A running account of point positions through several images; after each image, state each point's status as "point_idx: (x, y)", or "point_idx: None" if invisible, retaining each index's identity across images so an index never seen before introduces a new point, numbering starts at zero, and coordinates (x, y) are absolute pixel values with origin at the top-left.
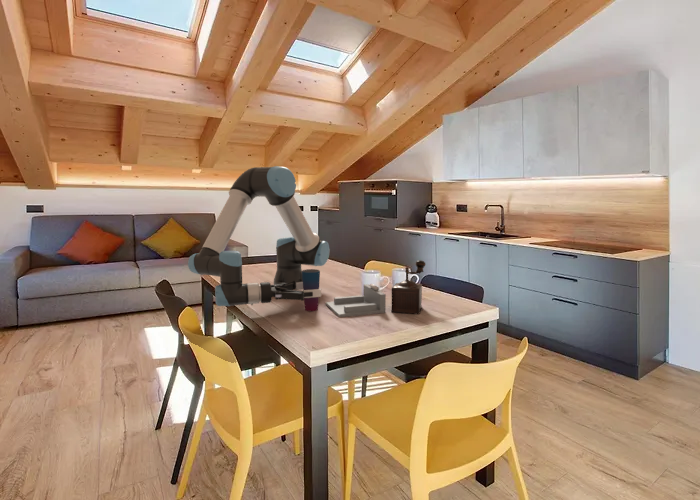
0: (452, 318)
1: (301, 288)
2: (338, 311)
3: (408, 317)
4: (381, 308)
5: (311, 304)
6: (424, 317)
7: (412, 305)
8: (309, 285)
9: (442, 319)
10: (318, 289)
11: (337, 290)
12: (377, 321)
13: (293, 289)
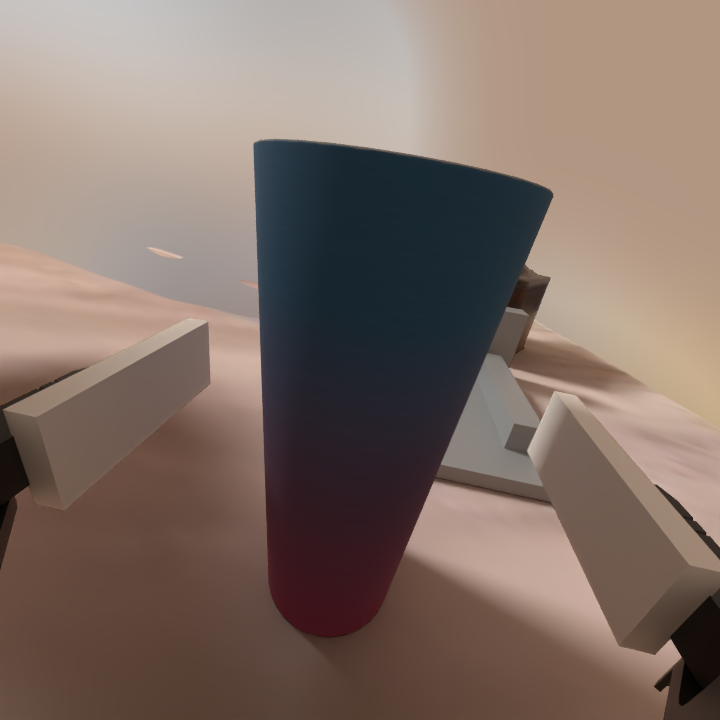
0: (559, 335)
1: (126, 444)
2: (509, 468)
3: (555, 366)
4: (508, 364)
5: (402, 554)
6: (553, 351)
7: (528, 326)
8: (467, 398)
9: (569, 344)
10: (581, 408)
11: (96, 319)
12: (619, 427)
13: (5, 545)
